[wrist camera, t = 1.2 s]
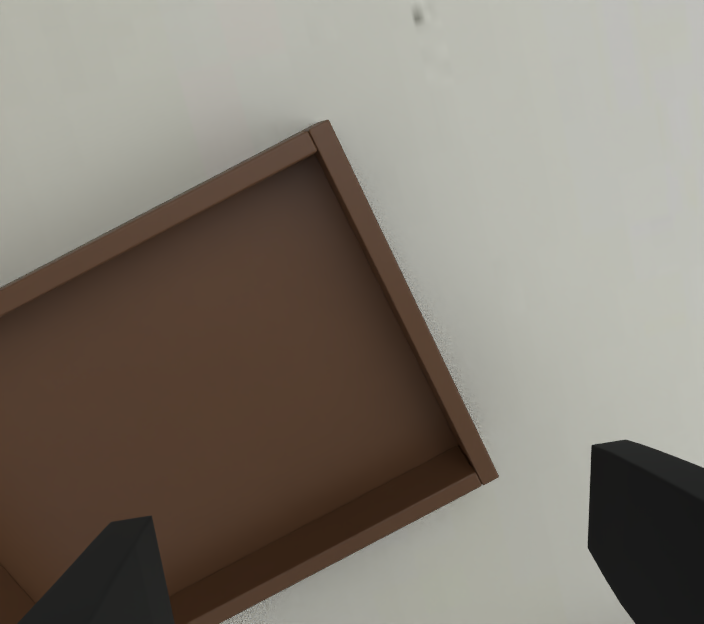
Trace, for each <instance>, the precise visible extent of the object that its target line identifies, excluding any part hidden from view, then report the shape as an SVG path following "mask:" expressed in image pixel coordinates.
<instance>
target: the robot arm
mask: <svg viewBox="0 0 704 624" xmlns="http://www.w3.org/2000/svg"><path fill="white" fill-rule="evenodd" d="M588 549H589V551H590V553H591V554H592V556H593V558H594V560H595V561H596V563H597V565H598V567H599V568H600V570H601V572H602V574H603V576H604V577H605V579H606V581H607V582H608V584H609V585H610V587H611V589H612V590H613V592H614V594H615V595H616V597H617V599H618V600H619V602H620V603H621V605H622V606H623V607H624V609H625V610H626V611H627V613H628V614H629V616H630V617H631V618H632V620H633V621H634V622H635V623H636V624H704V468H702V467H700V466H697V465H695V464H692V463H690V462H687V461H685V460H682V459H680V458H677V457H675V456H672V455H669V454H667V453H664V452H661V451H659V450H656V449H653V448H650V447H648V446H645V445H642V444H639V443H635V442H632V441H629V440H620V441H614V442H608V443H602V444H595V445H592V450H591V475H590V501H589V527H588ZM17 624H175V622H174V618H173V613H172V608H171V604H170V599H169V594H168V589H167V585H166V580H165V575H164V571H163V566H162V561H161V556H160V552H159V547H158V542H157V537H156V533H155V528H154V523H153V519H152V515H151V516H144V517H138V518H132V519H126V520H119V521H113V522H110V523H109V524H108V525H107V526H106V527H105V528H104V529H103V531H102V532H101V533H100V534H99V535H98V536H97V537H96V538H95V539H94V540H93V541H92V542H91V544H90V545H89V546H88V547H87V548H86V549H85V550H84V551H83V552H82V554H81V555H80V556H79V557H78V558H77V559H76V560H75V561H74V563H73V564H72V565H71V566H70V567H69V568H68V569H67V570H66V571H65V572H64V574H63V575H62V576H61V577H60V578H59V579H58V580H57V581H56V582H55V583H54V584H53V586H52V587H51V588H50V589H49V590H48V591H47V592H46V593H45V594H44V595H43V596H42V597H41V598H40V600H39V601H38V602H37V603H36V604H35V605H34V606H33V607H32V608H31V609H30V610H29V611H28V612H27V614H26V615H25V616H24V617H23V618H22V619H21V620H20V621H19V622H18V623H17Z"/></svg>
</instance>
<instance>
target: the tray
mask: <svg viewBox="0 0 704 624" xmlns="http://www.w3.org/2000/svg"><path fill="white" fill-rule="evenodd" d="M498 477H499V475H498V473H497V471H496V469H495V467H494V465H493V463H492V461H491V459H490V457H489V454H488V452H487V450H486V448H485V446H484V444H483V442H482V440H481V438H480V436H479V433H478V431H477V429H476V427H475V425H474V423H473V421H472V419H471V417H470V415H469V413H468V410H467V408H466V406H465V404H464V402H463V400H462V398H461V396H460V394H459V392H458V389H457V387H456V385H455V383H454V381H453V379H452V377H451V375H450V373H449V371H448V369H447V366H446V364H445V362H444V360H443V358H442V356H441V354H440V352H439V350H438V348H437V346H436V343H435V341H434V339H433V337H432V335H431V333H430V331H429V329H428V327H427V325H426V322H425V320H424V318H423V316H422V314H421V312H420V310H419V308H418V306H417V304H416V302H415V299H414V297H413V295H412V293H411V291H410V289H409V287H408V285H407V283H406V281H405V278H404V276H403V274H402V272H401V270H400V268H399V266H398V264H397V262H396V260H395V258H394V255H393V253H392V251H391V249H390V247H389V245H388V243H387V241H386V239H385V237H384V234H383V232H382V230H381V228H380V226H379V224H378V222H377V220H376V218H375V216H374V214H373V211H372V209H371V207H370V205H369V203H368V201H367V199H366V197H365V195H364V193H363V190H362V188H361V186H360V184H359V182H358V180H357V178H356V176H355V174H354V172H353V170H352V167H351V165H350V163H349V161H348V159H347V157H346V155H345V153H344V151H343V149H342V146H341V144H340V142H339V140H338V138H337V136H336V134H335V132H334V130H333V128H332V126H331V123H330V121H329V120H325V121H321V122H318V123H316V124H314V125H312V126H310V127H308V128H306V129H304V130H303V131H301V132H299V133H297V134H295V135H293V136H291V137H289V138H287V139H285V140H283V141H281V142H279V143H278V144H276V145H274V146H272V147H270V148H268V149H266V150H264V151H262V152H260V153H258V154H256V155H255V156H253V157H251V158H249V159H247V160H245V161H243V162H241V163H239V164H237V165H235V166H233V167H231V168H230V169H228V170H226V171H224V172H222V173H220V174H218V175H216V176H214V177H212V178H210V179H208V180H207V181H205V182H203V183H201V184H199V185H197V186H195V187H193V188H191V189H189V190H187V191H185V192H183V193H182V194H180V195H178V196H176V197H174V198H172V199H170V200H168V201H166V202H164V203H162V204H160V205H159V206H157V207H155V208H153V209H151V210H149V211H147V212H145V213H143V214H141V215H139V216H137V217H135V218H134V219H132V220H130V221H128V222H126V223H124V224H122V225H120V226H118V227H116V228H114V229H112V230H110V231H109V232H107V233H105V234H103V235H101V236H99V237H97V238H95V239H93V240H91V241H89V242H87V243H86V244H84V245H82V246H80V247H78V248H76V249H74V250H72V251H70V252H68V253H66V254H64V255H62V256H61V257H59V258H57V259H55V260H53V261H51V262H49V263H47V264H45V265H43V266H41V267H39V268H38V269H36V270H34V271H32V272H30V273H28V274H26V275H24V276H22V277H20V278H18V279H16V280H14V281H13V282H11V283H9V284H7V285H5V286H3V287H1V288H0V624H17V623H18V622H19V621H20V620H21V619H22V618H23V617H24V616H25V615H26V614H27V612H28V611H29V610H30V609H31V608H32V607H33V606H34V605H35V604H36V603H37V602H38V601H39V600H40V598H41V597H42V596H43V595H44V594H45V593H46V592H47V591H48V590H49V589H50V588H51V587H52V586H53V584H54V583H55V582H56V581H57V580H58V579H59V578H60V577H61V576H62V575H63V574H64V572H65V571H66V570H67V569H68V568H69V567H70V566H71V565H72V564H73V563H74V561H75V560H76V559H77V558H78V557H79V556H80V555H81V554H82V552H83V551H84V550H85V549H86V548H87V547H88V546H89V545H90V544H91V542H92V541H93V540H94V539H95V538H96V537H97V536H98V535H99V534H100V533H101V532H102V531H103V529H104V528H105V527H106V526H107V525H108V524H109V523H110V522H113V521H119V520H126V519H132V518H138V517H144V516H151V515H152V519H153V523H154V528H155V533H156V537H157V542H158V547H159V552H160V556H161V561H162V566H163V571H164V575H165V580H166V585H167V589H168V594H169V599H170V604H171V608H172V613H173V618H174V622H175V624H219V623H221V622H223V621H225V620H227V619H229V618H231V617H233V616H235V615H236V614H238V613H240V612H242V611H244V610H246V609H248V608H250V607H252V606H254V605H255V604H257V603H259V602H261V601H263V600H265V599H267V598H269V597H271V596H273V595H275V594H276V593H278V592H280V591H282V590H284V589H286V588H288V587H290V586H292V585H294V584H296V583H297V582H299V581H301V580H303V579H305V578H307V577H309V576H311V575H313V574H315V573H316V572H318V571H320V570H322V569H324V568H326V567H328V566H330V565H332V564H334V563H336V562H337V561H339V560H341V559H343V558H345V557H347V556H349V555H351V554H353V553H355V552H356V551H358V550H360V549H362V548H364V547H366V546H368V545H370V544H372V543H374V542H376V541H377V540H379V539H381V538H383V537H385V536H387V535H389V534H391V533H393V532H395V531H397V530H398V529H400V528H402V527H404V526H406V525H408V524H410V523H412V522H414V521H416V520H417V519H419V518H421V517H423V516H425V515H427V514H429V513H431V512H433V511H435V510H437V509H438V508H440V507H442V506H444V505H446V504H448V503H450V502H452V501H454V500H456V499H457V498H459V497H461V496H463V495H465V494H467V493H469V492H471V491H473V490H475V489H477V488H478V487H480V486H481V485H482V484H483V485H485V484H487V483H489V482H491V481H492V480H494V479H496V478H498Z"/></svg>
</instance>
